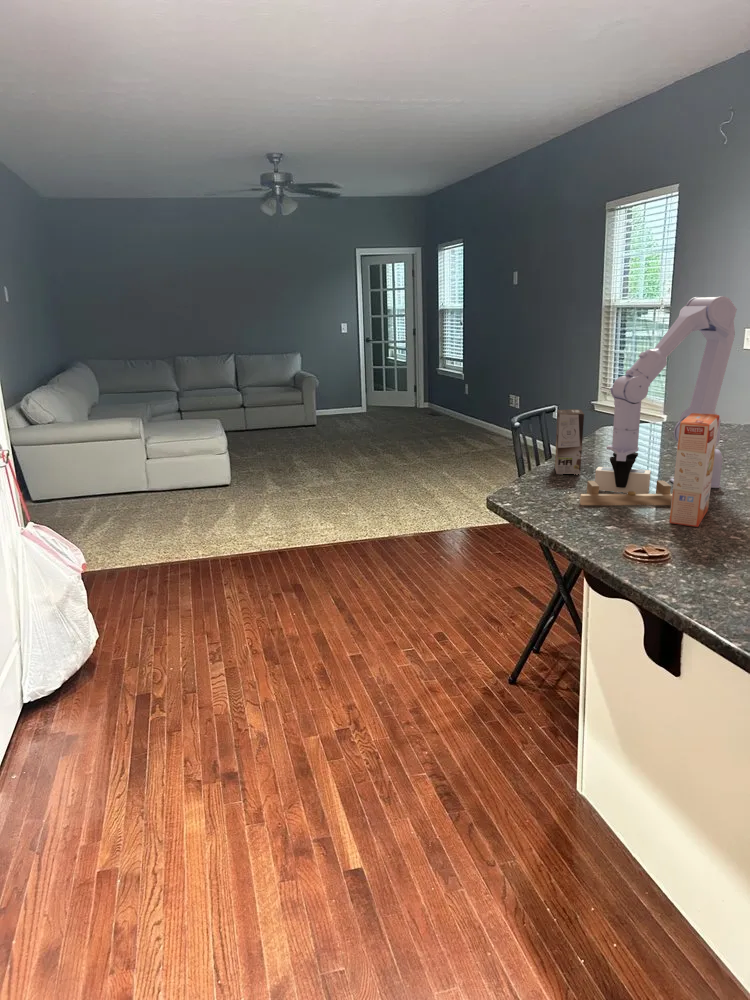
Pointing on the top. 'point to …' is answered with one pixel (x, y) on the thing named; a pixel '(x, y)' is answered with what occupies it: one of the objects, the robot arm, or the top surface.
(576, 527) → the top surface
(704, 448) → the cracker box
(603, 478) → the cream block
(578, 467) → the coffee box
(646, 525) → the top surface
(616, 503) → the ledge
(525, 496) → the top surface
